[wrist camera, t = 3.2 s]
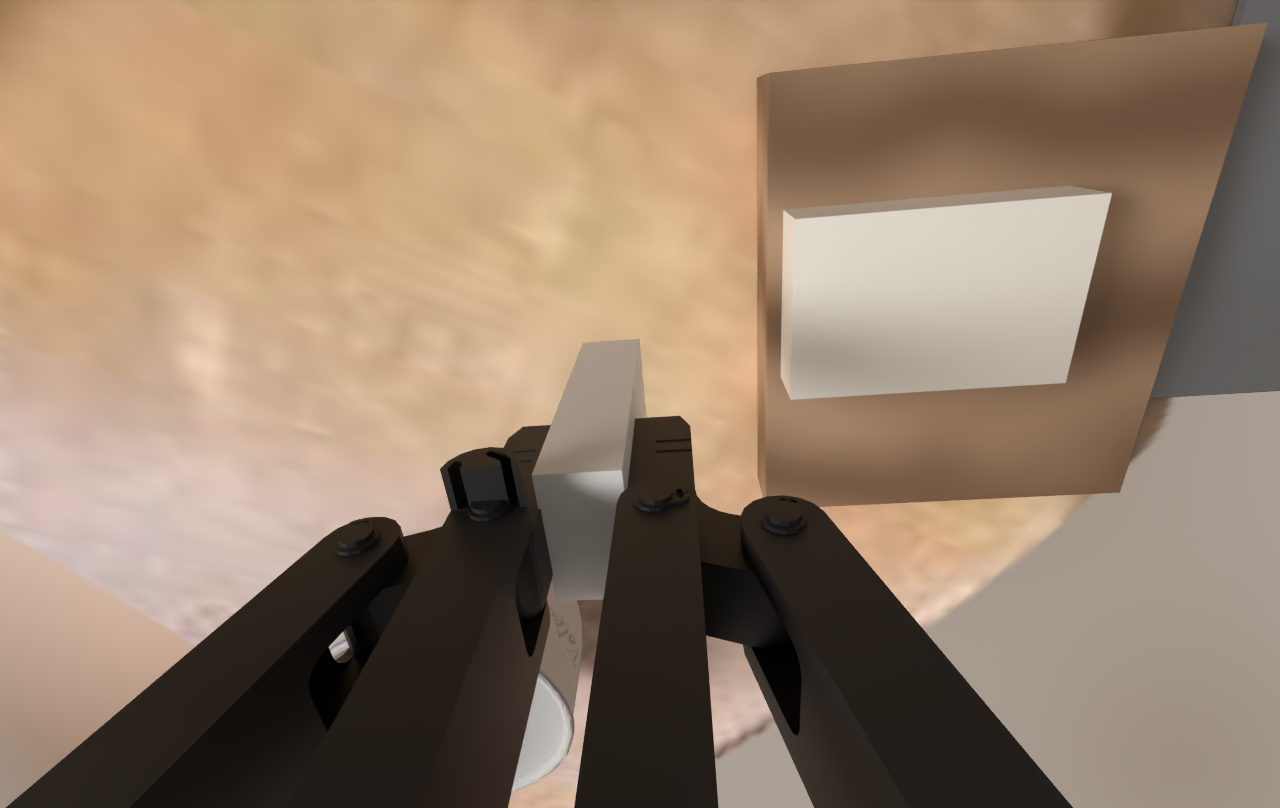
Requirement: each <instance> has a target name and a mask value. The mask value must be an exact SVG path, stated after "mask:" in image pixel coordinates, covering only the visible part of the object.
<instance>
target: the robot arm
mask: <svg viewBox="0 0 1280 808" xmlns="http://www.w3.org/2000/svg"><path fill="white" fill-rule="evenodd" d="M440 471H441V474H442V478H443V482H444V486H445V489H446V493H447V497H448V501H449V505H450V508H451V512H450V513H449V515H448V517H447V519H446V521H445V522H444V524H443V526H442V527H439V528H436V529H433V530H429V531H425V532H421V533H417V534H413V535H409V536H405V537H403V533H402V530H401V527H400V526H399V524H398V523H397V522H396V521H395V520H393V519H389V518H386V517H370V518H363V519H359V520H355V521H352V522H350V523H349V524H347V525H344V526H342V527H340V528H338V529H336V530H335V531H333V532H332V533H330V534H329V535H327V536H326V537H325V538H323V539H322V540H321V541H320V542H319V543H317V544H316V545H315V546H314V547H313V548H312V549H310V550H309V551H308V552H307V553H306V554H304V555H303V556H302V557H301V558H300V559H299V560H297V561H296V562H295V563H294V564H293V565H291V566H290V567H289V568H288V569H287V570H286V571H284V572H283V573H282V574H281V575H280V576H279V577H277V578H276V579H275V580H274V581H273V582H271V583H270V584H269V585H268V586H267V587H266V588H264V589H263V590H262V591H261V592H260V593H258V594H257V595H256V596H255V597H254V598H253V599H251V600H250V601H249V602H248V603H247V604H245V605H244V606H243V607H242V608H241V609H240V610H238V611H237V612H236V613H235V614H234V615H232V616H231V617H230V618H229V619H228V620H227V621H225V622H224V623H223V624H222V625H221V626H220V627H218V628H217V629H216V630H215V631H214V632H212V633H211V634H210V635H209V636H208V637H207V638H205V639H204V640H203V641H202V642H201V643H199V644H198V645H197V646H196V647H195V648H194V649H192V650H191V651H190V652H189V653H188V654H187V655H185V656H184V657H183V658H182V659H181V660H180V661H179V662H177V663H176V664H175V665H174V666H172V667H171V668H170V669H169V670H168V671H166V673H164V674H163V675H162V676H161V677H160V678H158V679H157V680H156V681H155V682H153V683H152V684H151V685H150V686H149V687H148V688H146V689H145V690H144V691H143V692H142V693H141V694H139V695H138V696H137V697H136V698H135V699H133V700H132V701H131V702H130V703H129V704H127V705H126V706H125V707H124V708H123V709H122V710H120V711H119V712H118V713H117V714H116V715H114V716H113V717H112V718H111V719H110V720H109V721H108V722H106V723H105V724H104V725H103V726H102V727H100V728H99V729H98V730H97V731H96V732H94V733H93V734H92V735H91V736H90V737H89V738H87V739H86V740H85V741H84V742H83V743H82V744H80V745H79V746H78V747H77V748H76V749H74V750H73V751H72V752H71V753H70V754H68V755H67V756H66V757H65V758H64V759H63V760H61V761H60V762H59V763H58V764H57V765H56V766H54V767H53V768H52V769H51V770H50V771H48V772H47V773H46V774H45V775H44V776H43V777H41V778H40V779H39V780H38V781H37V782H36V783H34V784H33V785H32V786H31V787H30V788H28V789H27V790H26V791H25V792H24V793H22V795H20V796H19V797H18V798H17V799H15V800H14V801H13V802H12V803H11V804H10V805H8V806H7V807H6V808H508V804H509V800H510V796H511V791H512V787H513V783H514V778H515V774H516V770H517V765H518V761H519V757H520V752H521V748H522V744H523V739H524V735H525V731H526V726H527V722H528V718H529V713H530V709H531V705H532V701H533V696H534V692H535V688H536V683H537V679H538V675H539V670H540V666H541V662H542V657H543V653H544V649H545V644H546V640H547V636H548V631H549V627H550V611H549V606H548V601H547V596H548V592H549V588H550V584H551V580H552V584H553V589H554V595H555V600H556V601H582V600H603V606H602V613H601V620H600V627H599V635H598V642H597V649H596V656H595V663H594V671H593V678H592V685H591V692H590V699H589V707H588V714H587V721H586V728H585V735H584V742H583V750H582V757H581V764H580V771H579V778H578V786H577V793H576V800H575V807H574V808H718V797H717V784H716V769H715V755H714V741H713V727H712V713H711V699H710V685H709V671H708V657H707V643H706V635H707V636H711V637H715V638H719V639H723V640H727V641H731V642H735V643H739V644H743V647H744V652H745V656H746V658H747V660H748V662H749V665H750V667H751V669H752V671H753V673H754V676H755V678H756V680H757V682H758V684H759V687H760V689H761V691H762V693H763V695H764V698H765V700H766V702H767V704H768V707H769V709H770V711H771V713H772V715H773V718H774V720H775V722H776V724H777V726H778V728H779V731H780V733H781V735H782V737H783V740H784V742H785V744H786V746H787V749H788V751H789V753H790V755H791V757H792V760H793V762H794V764H795V766H796V768H797V771H798V773H799V775H800V777H801V779H802V782H803V784H804V786H805V788H806V790H807V793H808V795H809V797H810V799H811V802H812V804H813V806H814V808H1073V807H1072V806H1071V805H1070V804H1069V802H1068V801H1067V800H1066V799H1065V798H1064V796H1063V795H1062V794H1061V793H1060V792H1059V791H1058V789H1057V788H1056V787H1055V786H1054V785H1053V783H1052V782H1051V781H1050V780H1049V779H1048V777H1047V776H1046V775H1045V774H1044V773H1043V771H1042V770H1041V769H1040V768H1039V767H1038V766H1037V764H1036V763H1035V762H1034V761H1033V760H1032V758H1031V757H1030V756H1029V755H1028V754H1027V753H1026V751H1025V750H1024V749H1023V748H1022V746H1021V745H1020V744H1019V743H1018V742H1017V741H1016V739H1015V738H1014V737H1013V736H1012V735H1011V734H1010V732H1009V731H1008V730H1007V729H1006V727H1005V726H1004V725H1003V724H1002V723H1001V721H1000V720H999V719H998V718H997V717H996V716H995V714H994V713H993V712H992V711H991V710H990V708H989V707H988V706H987V705H986V704H985V702H984V701H983V700H982V699H981V698H980V697H979V695H978V694H977V693H976V692H975V691H974V689H973V688H972V687H971V686H970V685H969V683H968V682H967V681H966V680H965V679H964V677H963V676H962V675H961V674H960V673H959V672H958V670H957V669H956V668H955V667H954V666H953V664H952V663H951V662H950V661H949V660H948V658H947V657H946V656H945V655H944V654H943V652H942V651H941V650H940V649H939V648H938V647H937V645H936V644H935V643H934V642H933V641H932V639H931V638H930V637H929V636H928V635H927V633H926V632H925V631H924V630H923V629H922V627H921V626H920V625H919V624H918V623H917V621H916V620H915V619H914V618H913V617H912V616H911V614H910V613H909V612H908V611H907V610H906V608H905V607H904V606H903V605H902V604H901V602H900V601H899V600H898V599H897V598H896V596H895V595H894V594H893V593H892V592H891V591H890V589H889V588H888V587H887V586H886V585H885V583H884V582H883V581H882V580H881V579H880V577H879V576H878V575H877V574H876V573H875V571H874V570H873V569H872V568H871V567H870V566H869V564H868V563H867V562H866V561H865V560H864V558H863V557H862V556H861V555H860V554H859V552H858V551H857V550H856V549H855V548H854V546H853V545H852V544H851V543H850V542H849V541H848V539H847V538H846V537H845V536H844V535H843V533H842V532H841V531H840V530H839V529H838V527H837V526H836V525H835V524H834V523H833V521H832V520H831V519H830V518H829V517H828V516H827V514H826V513H825V512H824V511H823V510H822V509H820V508H819V507H818V506H817V505H815V504H814V503H812V502H809V501H807V500H804V499H802V498H799V497H792V496H785V495H779V496H767V497H764V498H761V499H758V500H755V501H753V502H752V503H750V504H749V505H748V506H746V507H745V508H744V510H743V512H742V514H741V516H740V515H734V514H728V513H724V512H720V511H717V510H715V509H713V508H710V507H708V506H707V505H706V504H704V503H703V502H702V501H701V500H700V499H699V498H698V496H697V494H696V491H695V484H694V471H693V457H692V444H691V431H690V425H689V424H688V423H687V422H686V421H685V420H684V419H683V418H682V417H681V416H669V417H652V418H646V407H645V396H644V385H643V374H642V364H641V353H640V342H639V339H632V340H617V341H603V342H588V343H583V344H582V347H581V349H580V352H579V354H578V357H577V360H576V362H575V365H574V367H573V370H572V372H571V375H570V378H569V380H568V383H567V385H566V388H565V390H564V393H563V396H562V398H561V401H560V403H559V406H558V408H557V411H556V414H555V416H554V419H553V421H552V424H551V425H545V426H528V427H522V428H521V429H520V430H518V431H517V432H516V433H515V434H513V435H512V436H511V437H510V438H508V440H507V442H506V444H505V446H504V448H494V447H489V448H482V449H475V450H472V451H469V452H466V453H463V454H460V455H458V456H457V457H455V458H453V459H451V460H449V461H448V462H447V463H446V464H445V465H444V466H443V467H442V468H441V469H440ZM342 632H343V633H344V635H345V638H346V640H347V643H348V645H349V648H348V650H347V651H346V652H345V653H344V654H343V655H342V656H340V657H339V658H338V659H336V660H335V659H334V658H333V656H332V654H331V652H330V649H329V646H330V645H331V644H332V643H333V642H334V641H335V640H336V639H337V638H338V637H339V635H340V634H341V633H342Z"/></svg>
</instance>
